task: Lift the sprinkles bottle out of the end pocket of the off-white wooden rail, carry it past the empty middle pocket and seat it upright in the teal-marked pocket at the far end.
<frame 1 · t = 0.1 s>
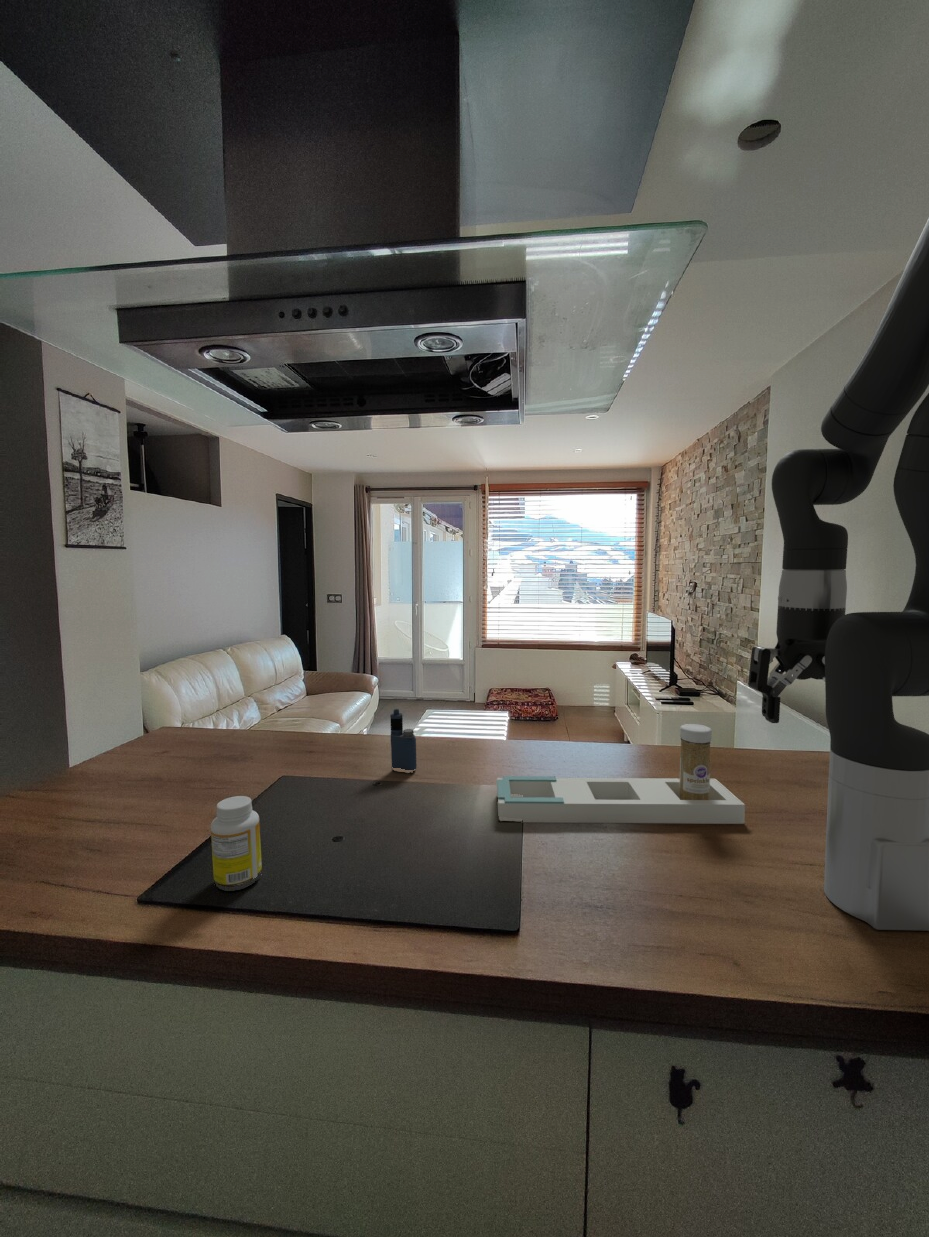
hand: (803, 721, 70), 17 cm above the worktop, tool pointing down, fingers open, 8 cm apart
rail: (612, 808, 83), on the worktop
sprinkles bottle: (693, 810, 83), resting in rail
supplement bottle: (238, 882, 65), on the worktop
vaping device: (403, 771, 101), on the worktop
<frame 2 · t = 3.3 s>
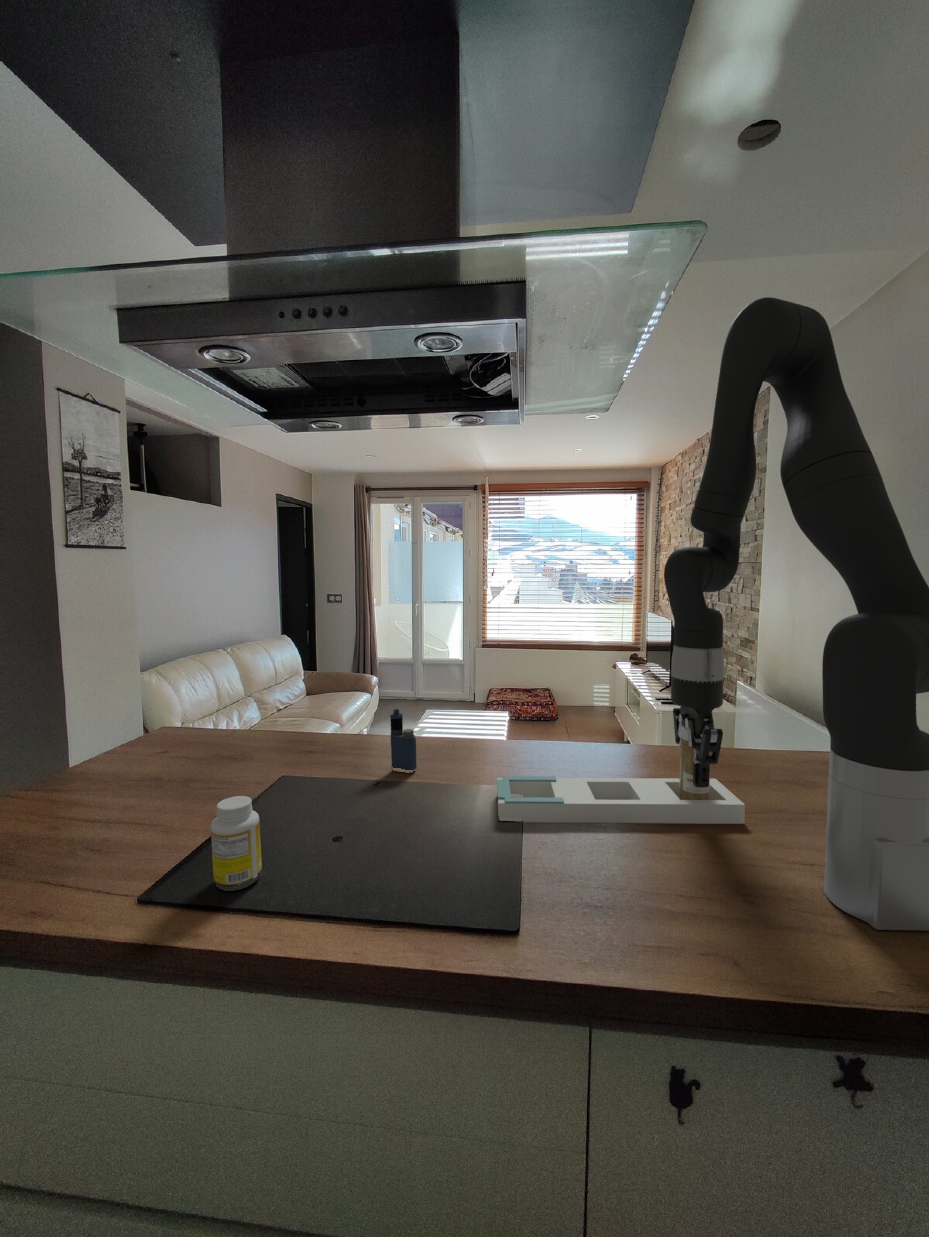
hand: (694, 779, 82), 5 cm above the worktop, tool pointing down, fingers closed on sprinkles bottle, 4 cm apart
sprinkles bottle: (693, 810, 83), resting in rail, touching gripper
everything else where it was.
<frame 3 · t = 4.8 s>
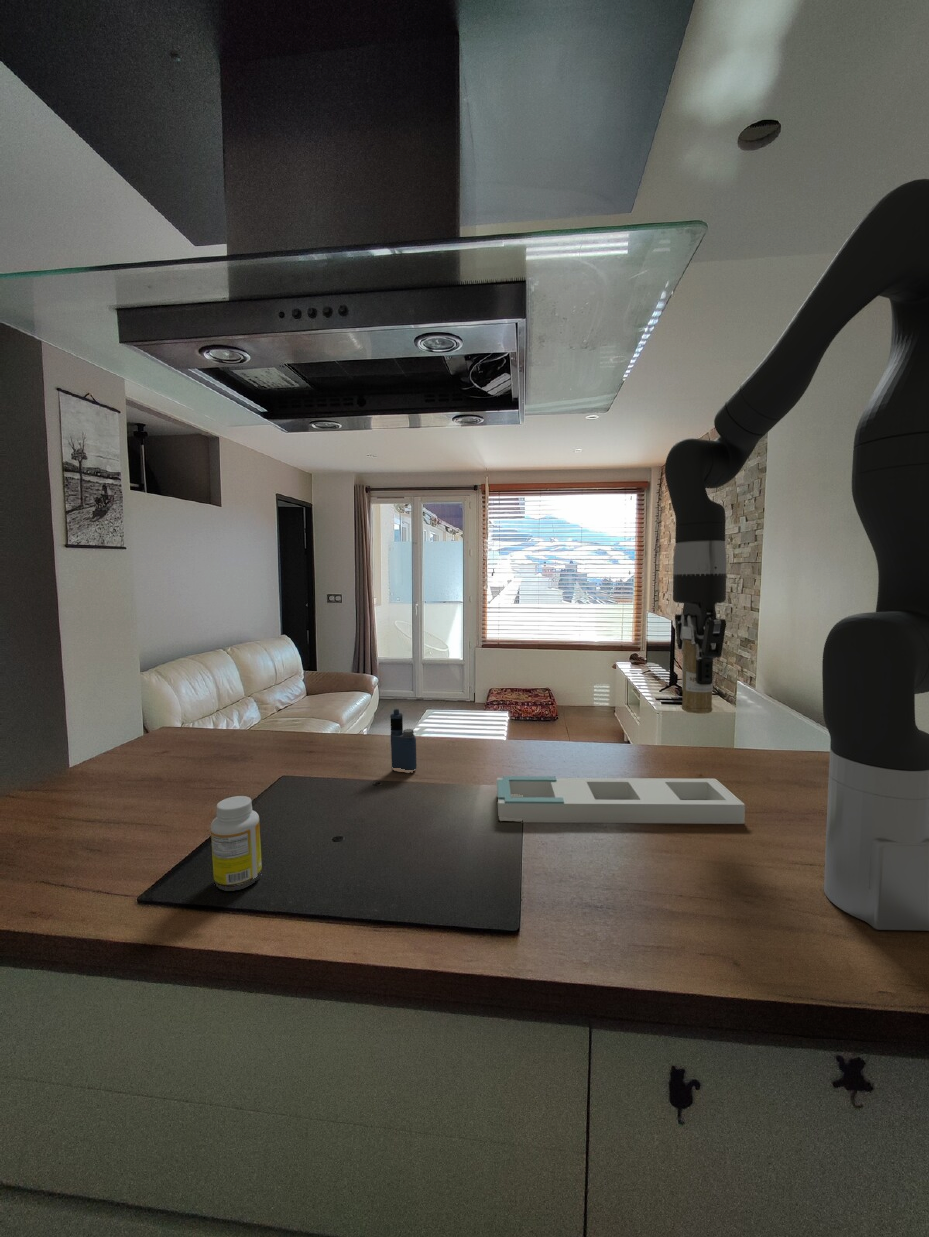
hand: (697, 680, 81), 21 cm above the worktop, tool pointing down, fingers closed on sprinkles bottle, 4 cm apart
sprinkles bottle: (696, 712, 81), point 16 cm above the worktop, touching gripper
everything else where it was.
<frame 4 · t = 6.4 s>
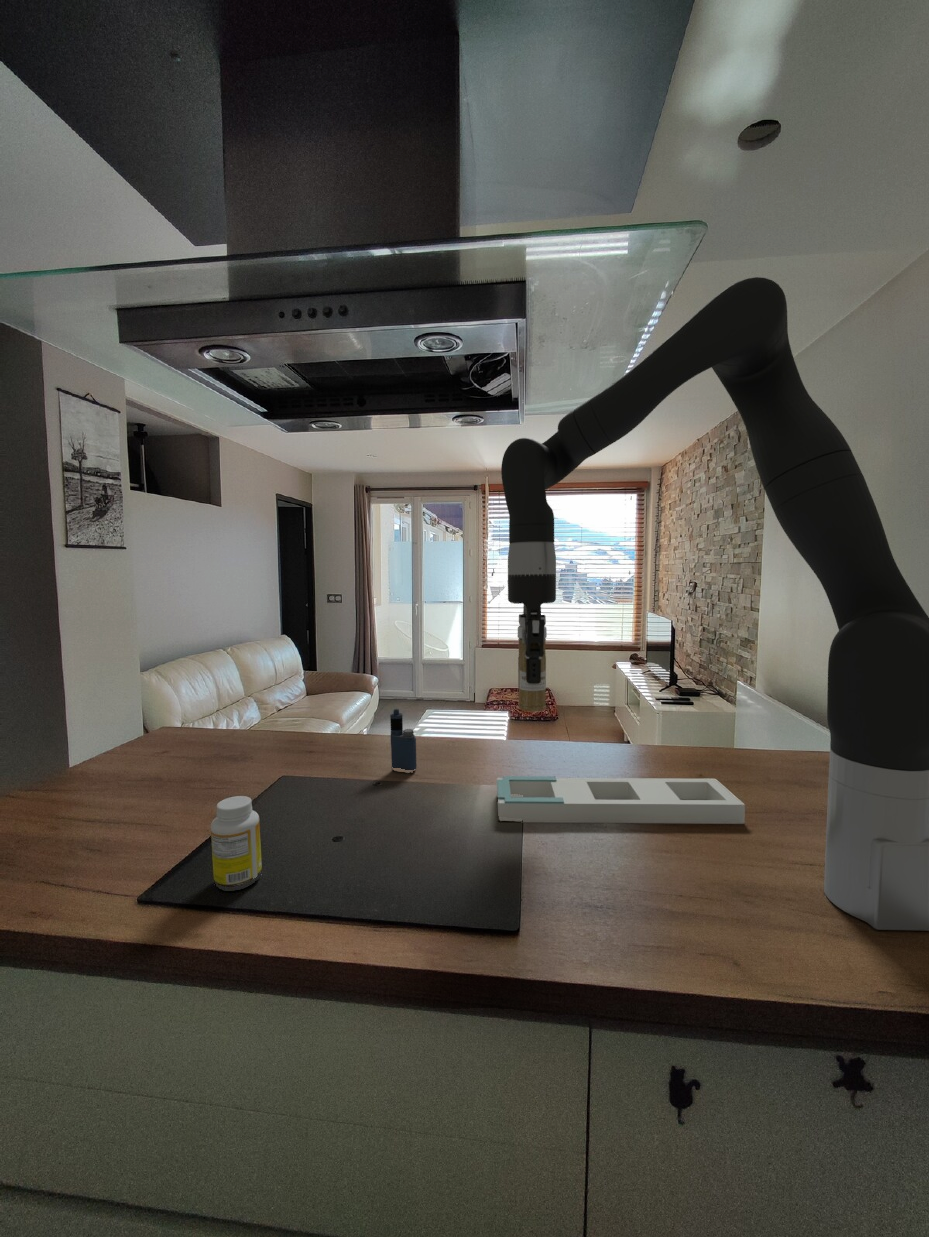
hand: (532, 679, 82), 21 cm above the worktop, tool pointing down, fingers closed on sprinkles bottle, 4 cm apart
sprinkles bottle: (532, 710, 83), point 16 cm above the worktop, touching gripper
everything else where it was.
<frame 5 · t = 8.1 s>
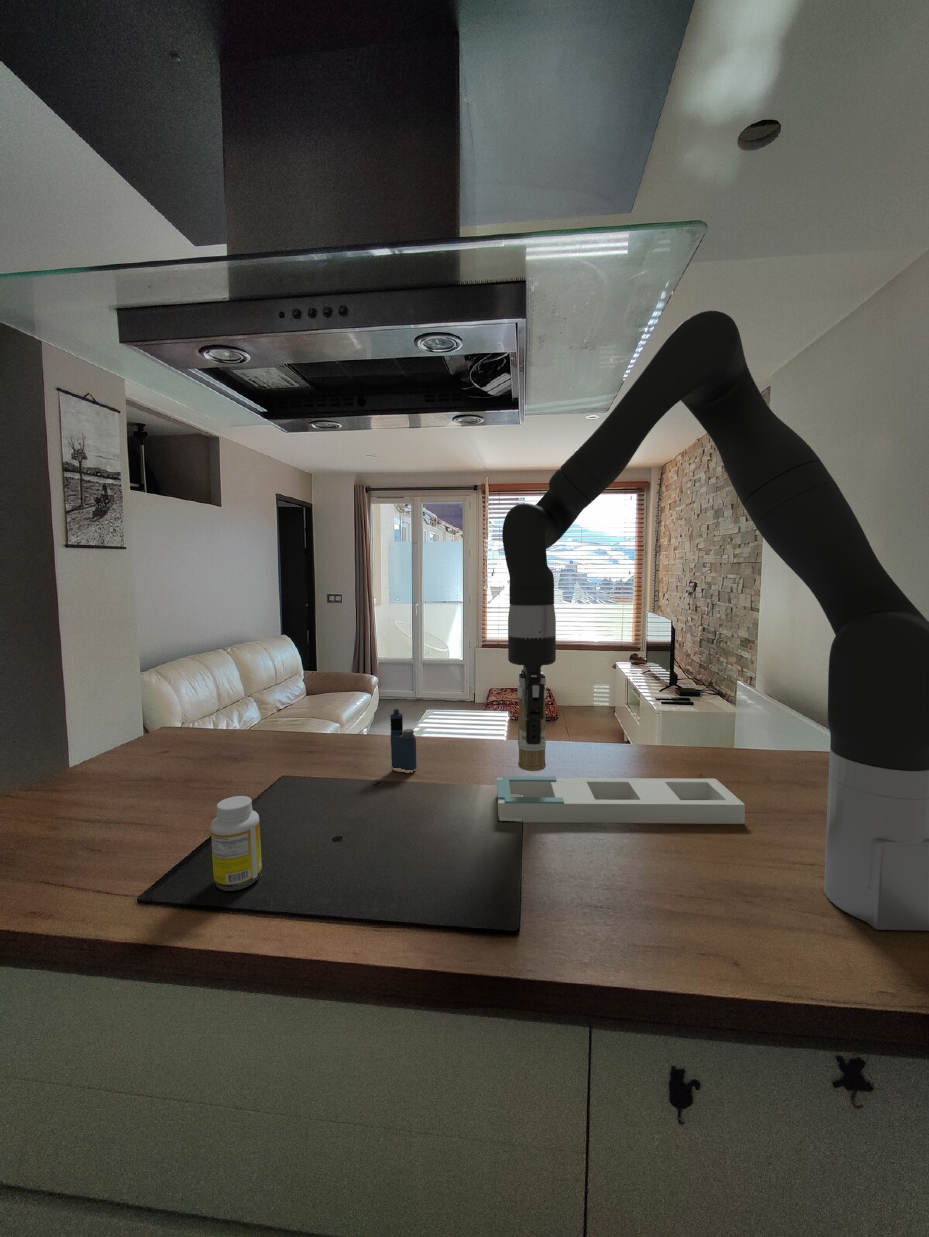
hand: (531, 737, 83), 12 cm above the worktop, tool pointing down, fingers closed on sprinkles bottle, 4 cm apart
sprinkles bottle: (532, 768, 83), point 7 cm above the worktop, touching gripper
everything else where it was.
when the fingers open (6 cm above the worktop, at t = 9.6 s): sprinkles bottle drops 1 cm, resting in rail.
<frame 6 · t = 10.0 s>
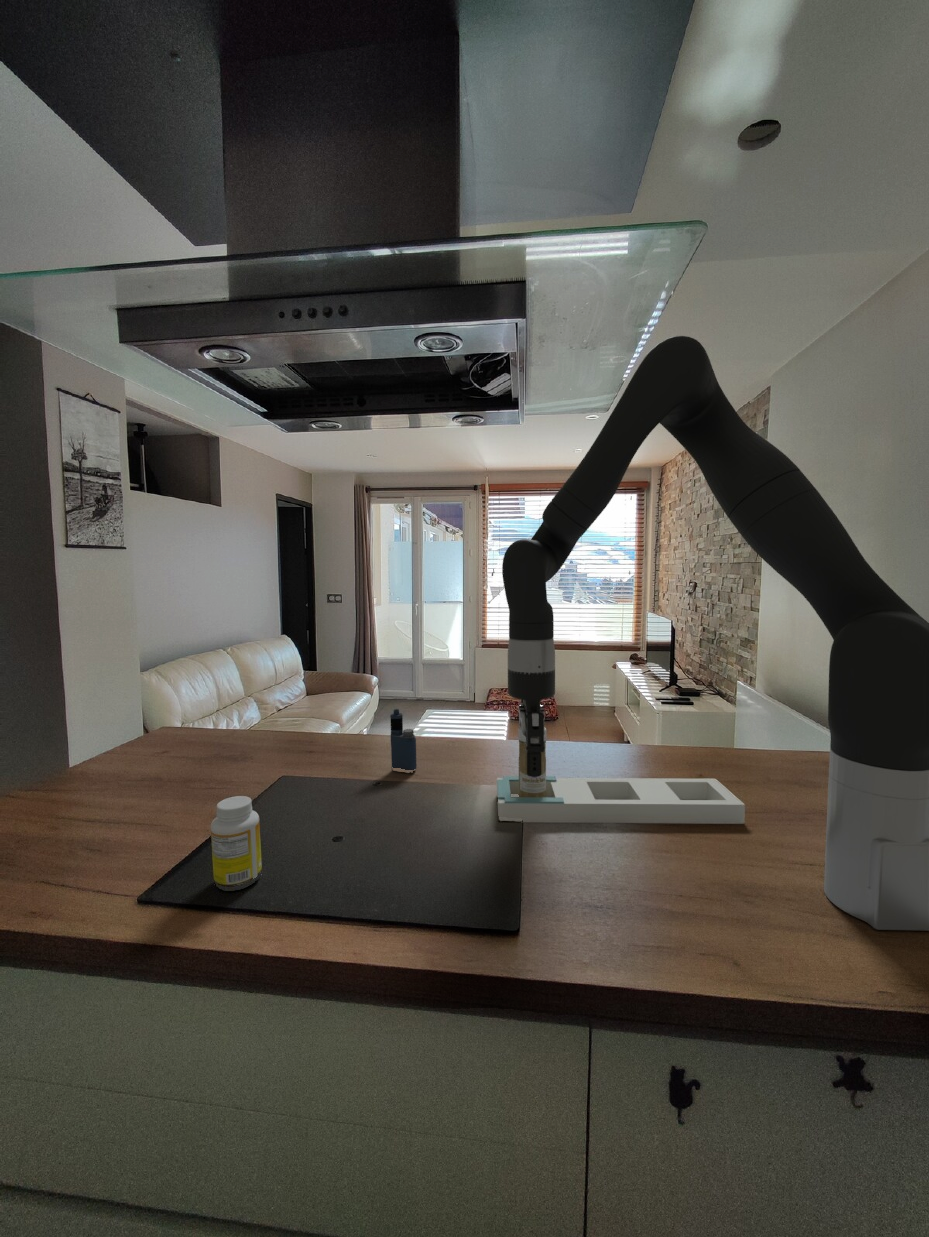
hand: (531, 765, 83), 7 cm above the worktop, tool pointing down, fingers open, 8 cm apart
sprinkles bottle: (532, 809, 84), resting in rail
everything else where it was.
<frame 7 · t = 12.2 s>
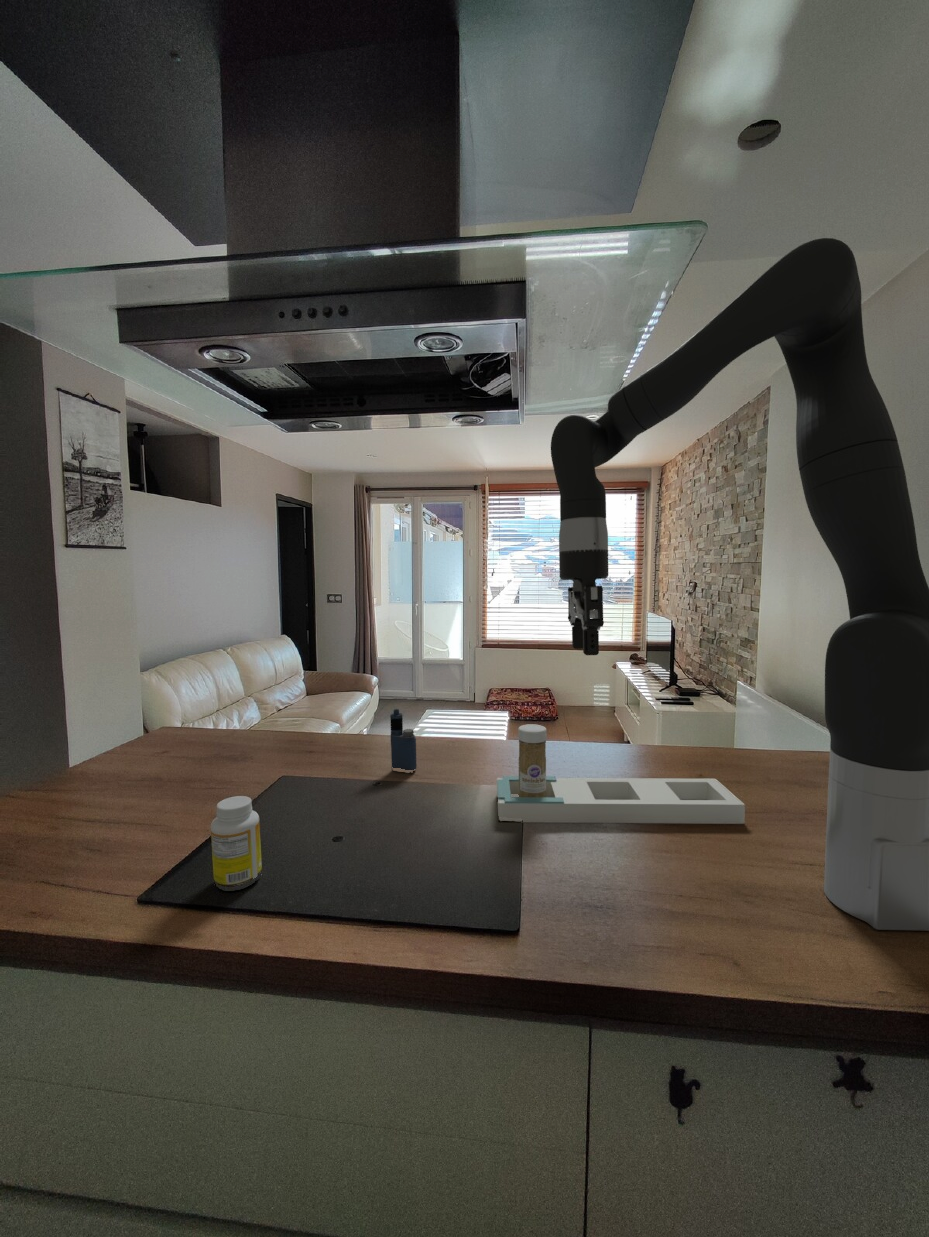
hand: (584, 651, 82), 26 cm above the worktop, tool pointing down, fingers open, 8 cm apart
nothing on the worktop moved.
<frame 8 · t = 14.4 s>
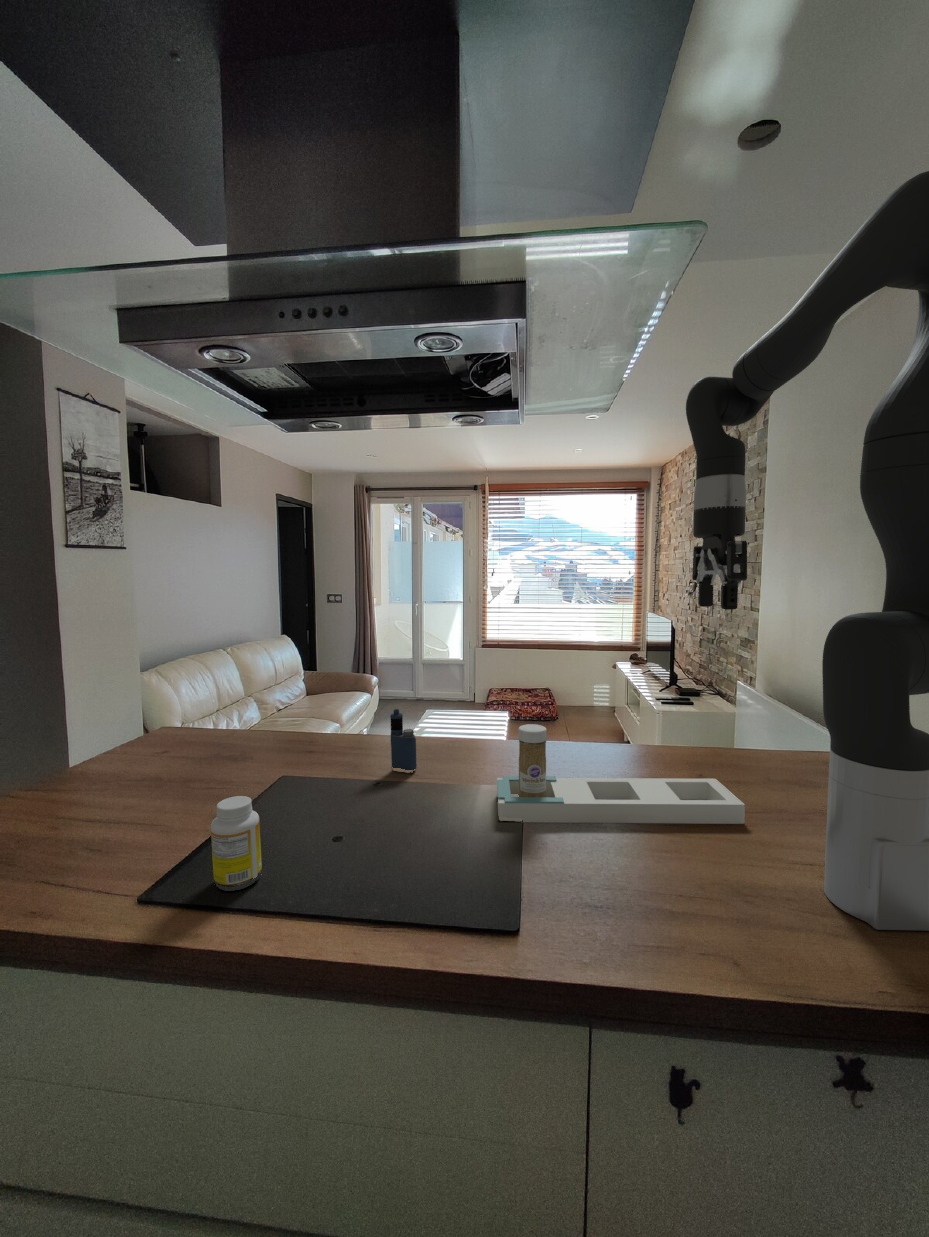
hand: (716, 607, 84), 32 cm above the worktop, tool pointing down, fingers open, 8 cm apart
nothing on the worktop moved.
at the end: sprinkles bottle 0.1 cm from the target spot on the rail, point 0.0 cm above the rail's base; sprinkles bottle tilted 0°; the gripper is holding nothing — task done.
